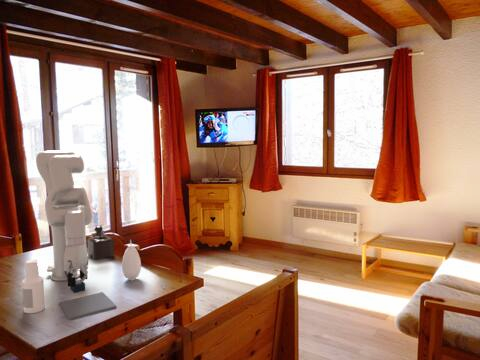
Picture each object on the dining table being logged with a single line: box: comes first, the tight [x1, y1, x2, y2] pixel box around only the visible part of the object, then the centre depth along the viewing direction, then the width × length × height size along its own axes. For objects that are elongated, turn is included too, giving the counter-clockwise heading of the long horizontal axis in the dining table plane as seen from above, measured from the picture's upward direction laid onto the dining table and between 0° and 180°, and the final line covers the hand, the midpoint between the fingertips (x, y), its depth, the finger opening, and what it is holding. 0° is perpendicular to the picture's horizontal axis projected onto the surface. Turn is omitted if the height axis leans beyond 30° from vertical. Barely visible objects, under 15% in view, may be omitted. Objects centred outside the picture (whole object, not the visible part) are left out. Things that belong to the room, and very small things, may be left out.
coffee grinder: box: [87, 224, 115, 261], centre depth 203 cm, size 16×11×18 cm
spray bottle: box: [21, 259, 46, 314], centre depth 140 cm, size 7×7×18 cm
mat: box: [58, 291, 117, 320], centre depth 144 cm, size 16×16×1 cm
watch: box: [69, 265, 88, 294], centre depth 159 cm, size 6×8×11 cm
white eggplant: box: [121, 239, 142, 281], centre depth 170 cm, size 8×8×18 cm
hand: (77, 282), depth 159 cm, fingers open, 8 cm apart
